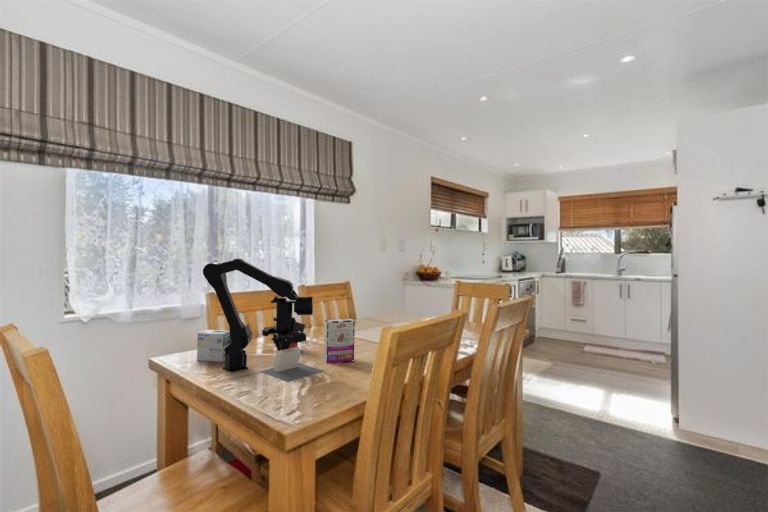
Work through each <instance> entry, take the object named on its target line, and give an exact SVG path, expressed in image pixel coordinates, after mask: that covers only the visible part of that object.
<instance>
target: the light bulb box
mask: <svg viewBox="0 0 768 512" xmlns="http://www.w3.org/2000/svg"><path fill="white" fill-rule="evenodd" d="M196 335H197V337H196V338H197V340H196V341H197V343H196V347H197V349H196V361H202V362H218V363H219V362H220V363H223V362H225V351H224V349H225V348H226V347H227V346H228V345H229V344H230V343H231V339H230V330H222V329H221V330H218V329H217V330H216V329H215V330H213V329H204V330H201V331H198V332H197V334H196Z"/></svg>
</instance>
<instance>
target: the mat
mask: <svg viewBox="0 0 768 512" xmlns="http://www.w3.org/2000/svg"><path fill="white" fill-rule="evenodd" d="M273 369H274V367H271V368H267V369H263V370H260V371H259V372H260V373H263V374H265V375H268V376H270V377H273V378H276V379H279V380H280V381H284V382H286V383H290V382H294V381H297V380H299V379H303V378H306V377H310V376H313V375H314V376H315V375H316V374H319V373H323V372H325V370H322V369H319V368H316V367H312V366H310V365H308V364H304V363H301V362H298V367H295V368H291V369H287V370H284V371H280V372H276V371H275V370H273Z"/></svg>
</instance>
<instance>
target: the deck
mask: <svg viewBox="0 0 768 512" xmlns="http://www.w3.org/2000/svg"><path fill="white" fill-rule="evenodd" d="M301 353H302V348H300V347H294V348H290V349H285V350H280V351H278V350H277V351H276V354H275V360H274V363H273V368H274V369H273V370H275V371H276V372H280V371H284V370H287V369H291V368H295V367H298V363H300V357H301Z"/></svg>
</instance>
